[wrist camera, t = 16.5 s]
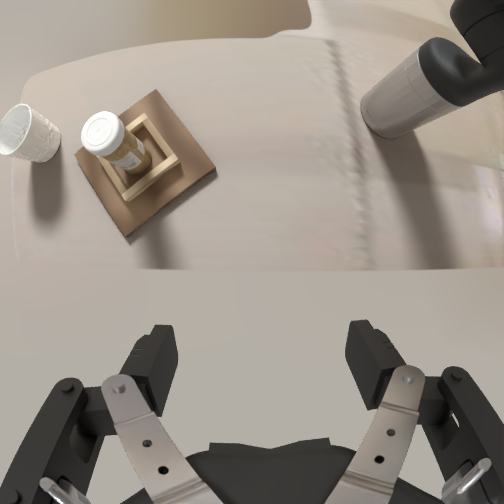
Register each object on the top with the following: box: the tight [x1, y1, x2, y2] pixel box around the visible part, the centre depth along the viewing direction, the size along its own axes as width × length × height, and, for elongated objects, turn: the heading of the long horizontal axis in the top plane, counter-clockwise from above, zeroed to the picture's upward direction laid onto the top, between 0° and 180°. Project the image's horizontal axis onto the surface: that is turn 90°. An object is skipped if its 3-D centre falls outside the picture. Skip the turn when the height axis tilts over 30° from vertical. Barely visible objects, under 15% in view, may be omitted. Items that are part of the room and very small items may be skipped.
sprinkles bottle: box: [81, 112, 151, 174], centre depth 30 cm, size 5×5×14 cm
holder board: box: [75, 89, 216, 237], centre depth 36 cm, size 16×16×3 cm
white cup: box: [0, 104, 61, 163], centre depth 31 cm, size 8×8×10 cm
